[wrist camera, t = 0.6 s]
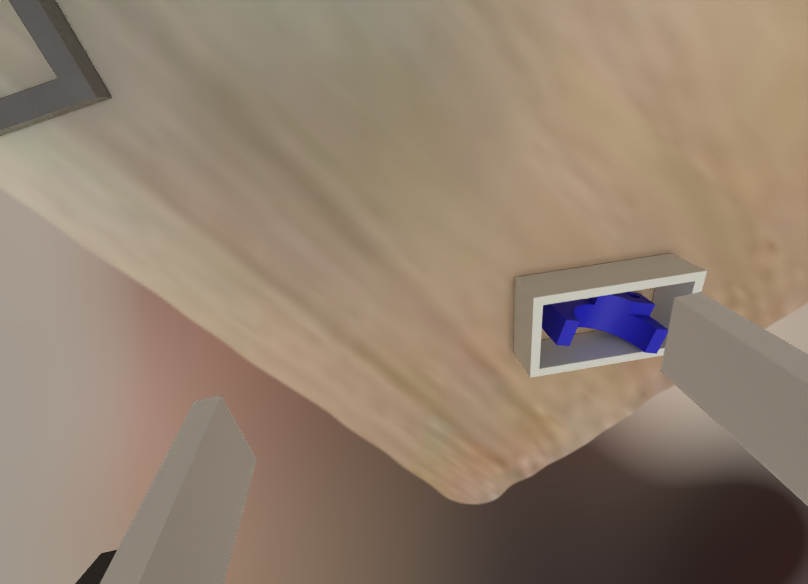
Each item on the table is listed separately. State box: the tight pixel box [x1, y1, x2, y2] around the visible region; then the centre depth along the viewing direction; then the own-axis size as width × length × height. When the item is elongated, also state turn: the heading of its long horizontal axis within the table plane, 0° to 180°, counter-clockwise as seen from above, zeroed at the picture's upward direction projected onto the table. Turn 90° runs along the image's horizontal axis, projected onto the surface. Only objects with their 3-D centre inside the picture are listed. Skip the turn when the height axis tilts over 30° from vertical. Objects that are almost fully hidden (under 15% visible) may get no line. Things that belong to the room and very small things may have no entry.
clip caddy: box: [513, 253, 707, 378], centre depth 42 cm, size 10×18×5 cm, turn 96°
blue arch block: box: [542, 292, 668, 354], centre depth 42 cm, size 12×4×6 cm, turn 80°
